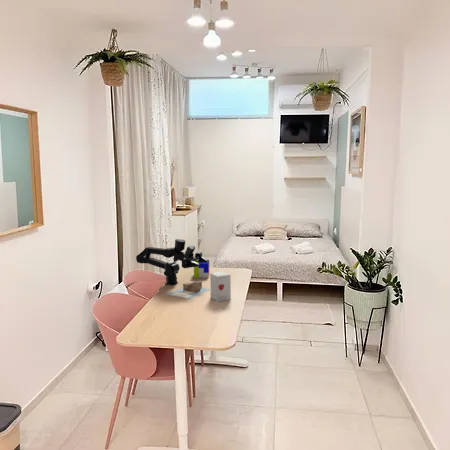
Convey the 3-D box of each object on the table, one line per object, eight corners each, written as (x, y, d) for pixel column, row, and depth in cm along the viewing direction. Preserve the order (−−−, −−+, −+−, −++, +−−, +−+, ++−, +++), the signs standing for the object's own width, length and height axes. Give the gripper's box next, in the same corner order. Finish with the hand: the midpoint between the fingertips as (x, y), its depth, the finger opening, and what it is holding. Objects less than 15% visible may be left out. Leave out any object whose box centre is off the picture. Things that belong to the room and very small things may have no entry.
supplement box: (217, 302, 246) (216, 276, 243) (210, 297, 253) (209, 273, 251) (231, 299, 250) (230, 274, 247) (224, 295, 258) (223, 270, 255)
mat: (165, 294, 261) (165, 294, 261) (187, 285, 279) (187, 285, 279) (189, 299, 251) (189, 299, 251) (211, 289, 270) (211, 289, 269)
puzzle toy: (208, 277, 297) (208, 263, 296) (194, 277, 297) (193, 263, 296) (209, 273, 307) (209, 259, 306) (195, 273, 307) (195, 260, 306)
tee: (183, 290, 269) (183, 284, 268) (192, 286, 277) (192, 280, 276) (196, 292, 263) (196, 286, 263) (205, 288, 272) (205, 282, 271)
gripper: (175, 248, 266) (196, 255, 259) (192, 241, 282) (212, 247, 274) (173, 265, 269) (194, 272, 262) (190, 257, 285) (210, 264, 277)
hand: (203, 263), depth 269 cm, fingers open, 9 cm apart
